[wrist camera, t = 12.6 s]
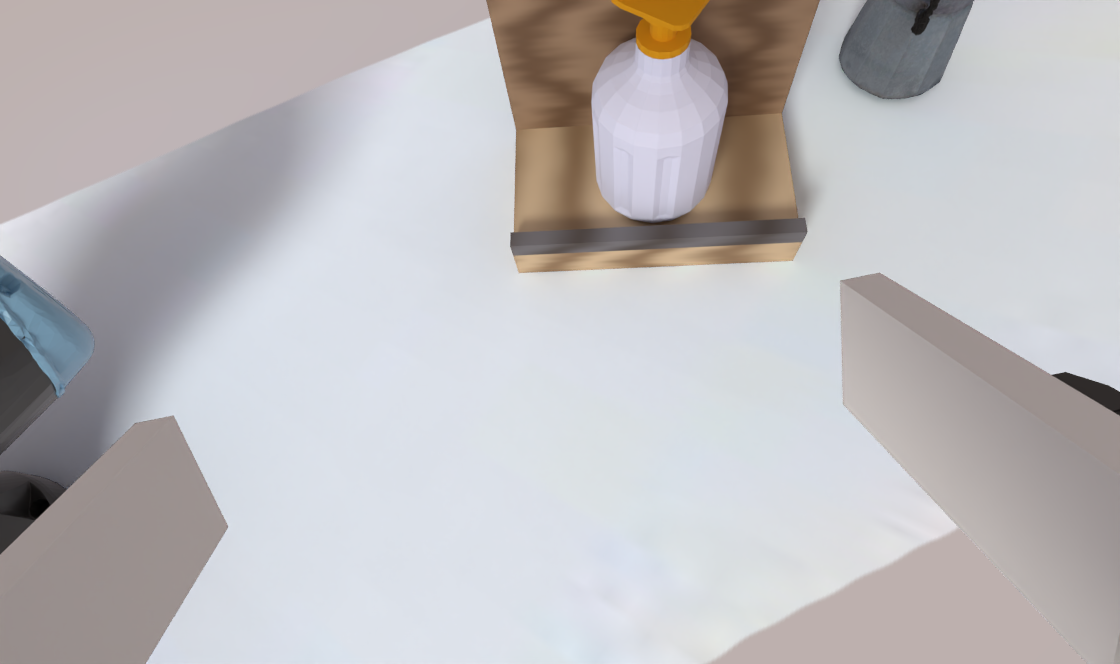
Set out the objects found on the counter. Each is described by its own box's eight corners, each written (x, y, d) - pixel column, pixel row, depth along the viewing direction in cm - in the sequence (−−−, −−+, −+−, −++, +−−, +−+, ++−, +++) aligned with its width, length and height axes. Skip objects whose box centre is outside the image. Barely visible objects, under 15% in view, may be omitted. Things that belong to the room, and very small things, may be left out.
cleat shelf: (518, 272, 54) (409, -62, 26) (521, 137, 59) (431, -265, 31) (792, 260, 52) (986, -112, 25) (771, 122, 57) (913, -318, 29)
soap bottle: (673, 244, 50) (715, -38, 28) (575, 192, 53) (539, -106, 30) (731, 160, 53) (813, -166, 30) (634, 114, 55) (641, -219, 32)
